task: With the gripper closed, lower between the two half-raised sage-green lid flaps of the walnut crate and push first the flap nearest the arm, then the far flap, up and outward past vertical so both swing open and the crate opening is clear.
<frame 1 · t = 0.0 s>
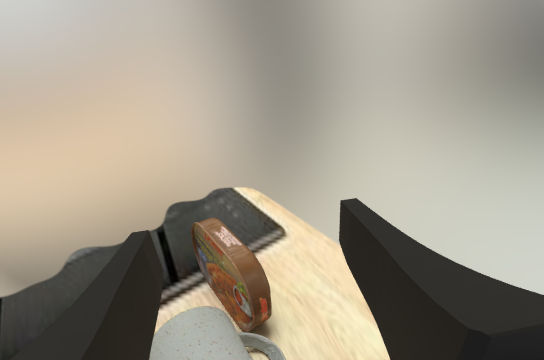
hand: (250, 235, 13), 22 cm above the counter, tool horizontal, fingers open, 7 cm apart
tin: (233, 297, 40), on the counter
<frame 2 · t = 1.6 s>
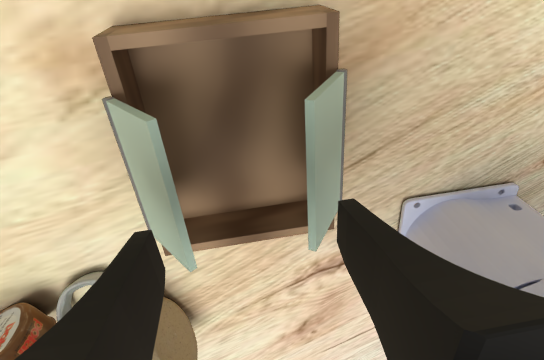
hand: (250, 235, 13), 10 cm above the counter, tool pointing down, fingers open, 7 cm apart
crate: (235, 128, 22), on the counter
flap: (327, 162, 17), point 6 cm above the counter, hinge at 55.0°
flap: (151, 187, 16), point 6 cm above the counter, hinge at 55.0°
ceramic mug: (126, 308, 29), on the counter
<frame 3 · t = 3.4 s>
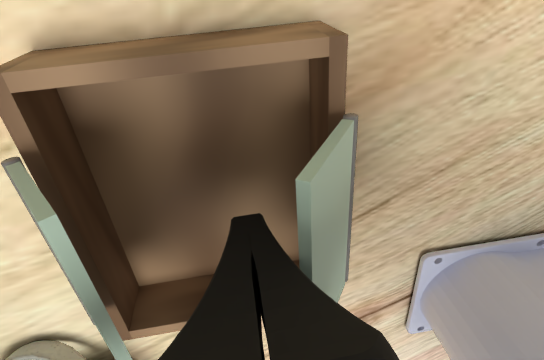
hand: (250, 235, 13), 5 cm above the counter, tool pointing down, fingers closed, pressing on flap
crate: (209, 177, 17), on the counter
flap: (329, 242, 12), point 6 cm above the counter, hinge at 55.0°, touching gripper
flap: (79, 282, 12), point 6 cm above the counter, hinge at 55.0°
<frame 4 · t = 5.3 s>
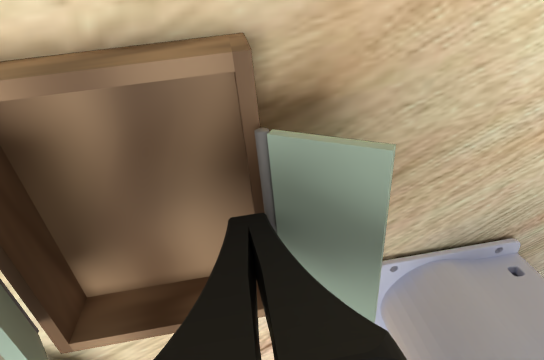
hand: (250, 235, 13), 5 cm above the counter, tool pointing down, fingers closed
crate: (148, 189, 17), on the counter
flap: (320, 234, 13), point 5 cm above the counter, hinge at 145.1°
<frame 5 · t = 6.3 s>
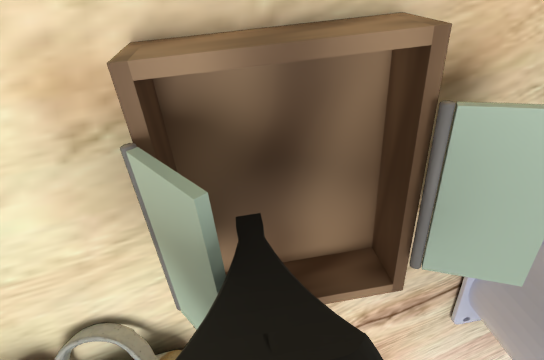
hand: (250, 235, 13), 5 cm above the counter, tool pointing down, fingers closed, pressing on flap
crate: (281, 167, 17), on the counter
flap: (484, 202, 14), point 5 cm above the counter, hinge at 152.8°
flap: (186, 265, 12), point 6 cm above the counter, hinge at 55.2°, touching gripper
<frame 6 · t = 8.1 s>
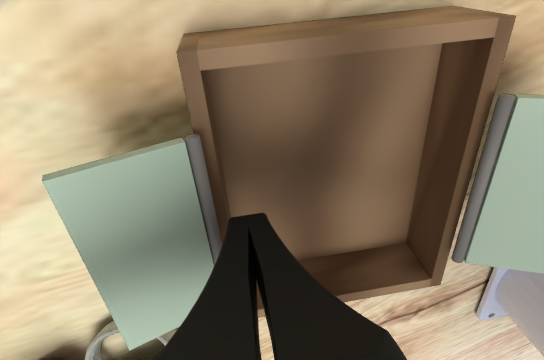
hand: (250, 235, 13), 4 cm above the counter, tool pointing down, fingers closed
crate: (322, 162, 17), on the counter
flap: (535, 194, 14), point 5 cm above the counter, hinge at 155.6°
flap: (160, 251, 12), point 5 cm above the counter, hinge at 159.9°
ceramic mug: (164, 353, 24), on the counter, touching tin
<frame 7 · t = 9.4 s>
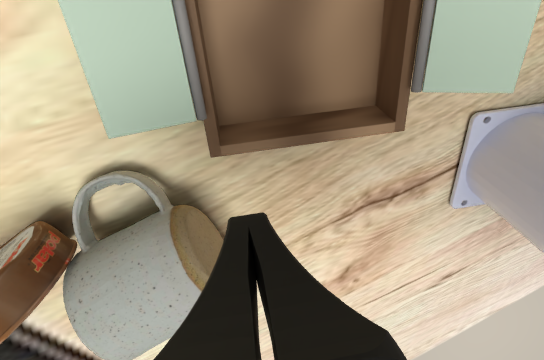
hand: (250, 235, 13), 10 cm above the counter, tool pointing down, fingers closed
crate: (292, 7, 18), on the counter
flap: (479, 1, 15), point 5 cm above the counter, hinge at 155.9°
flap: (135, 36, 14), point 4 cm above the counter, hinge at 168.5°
ceramic mug: (150, 226, 25), on the counter
tin: (4, 261, 24), on the counter
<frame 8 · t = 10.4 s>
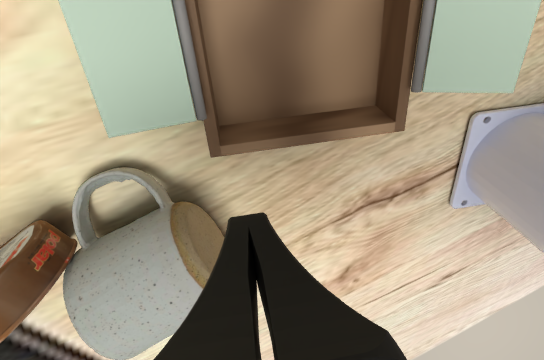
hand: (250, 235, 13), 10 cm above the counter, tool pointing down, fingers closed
crate: (292, 7, 18), on the counter
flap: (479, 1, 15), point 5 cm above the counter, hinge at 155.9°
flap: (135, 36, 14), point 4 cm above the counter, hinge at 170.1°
ceramic mug: (151, 223, 25), on the counter
tin: (5, 260, 24), on the counter
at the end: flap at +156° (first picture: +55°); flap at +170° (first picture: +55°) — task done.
